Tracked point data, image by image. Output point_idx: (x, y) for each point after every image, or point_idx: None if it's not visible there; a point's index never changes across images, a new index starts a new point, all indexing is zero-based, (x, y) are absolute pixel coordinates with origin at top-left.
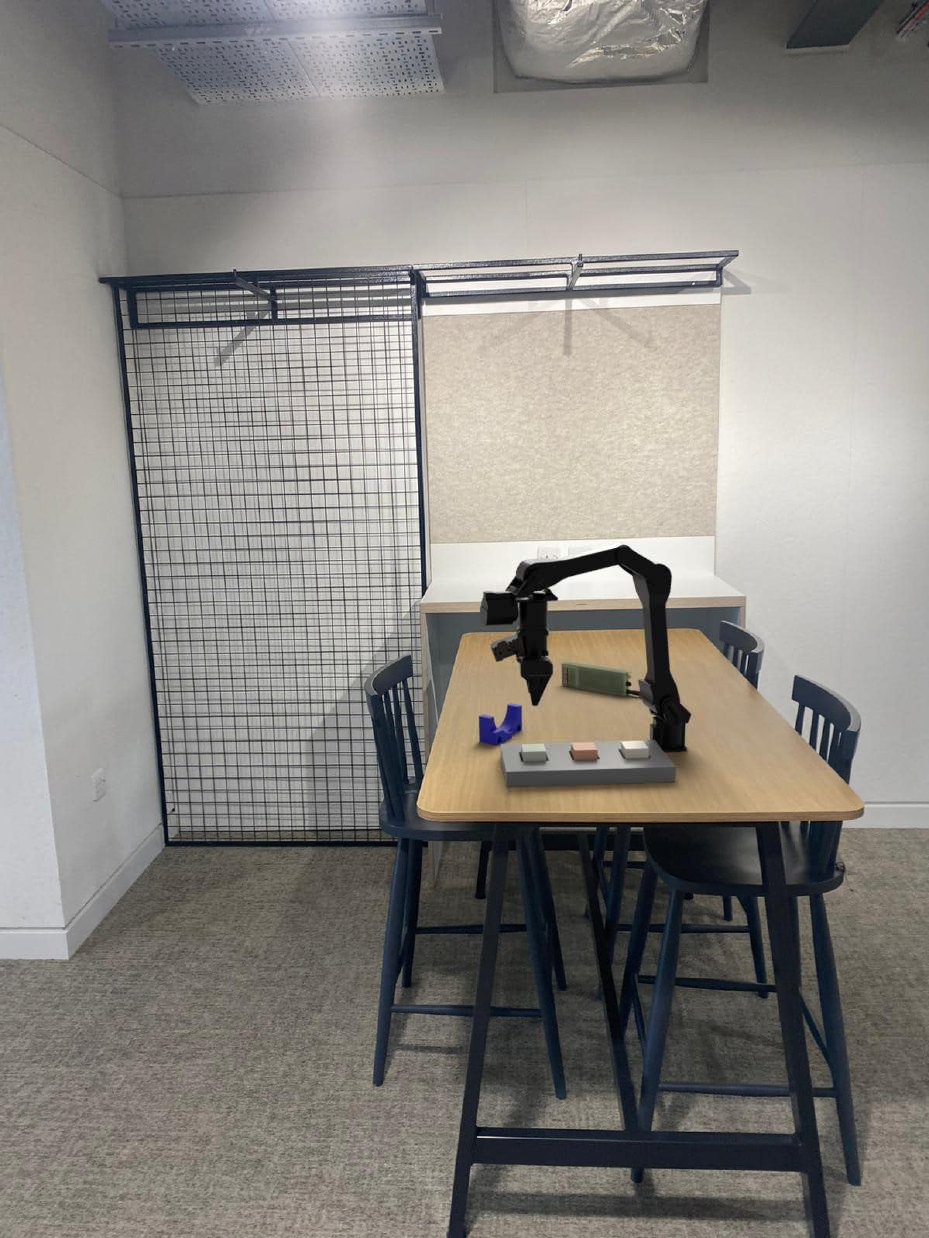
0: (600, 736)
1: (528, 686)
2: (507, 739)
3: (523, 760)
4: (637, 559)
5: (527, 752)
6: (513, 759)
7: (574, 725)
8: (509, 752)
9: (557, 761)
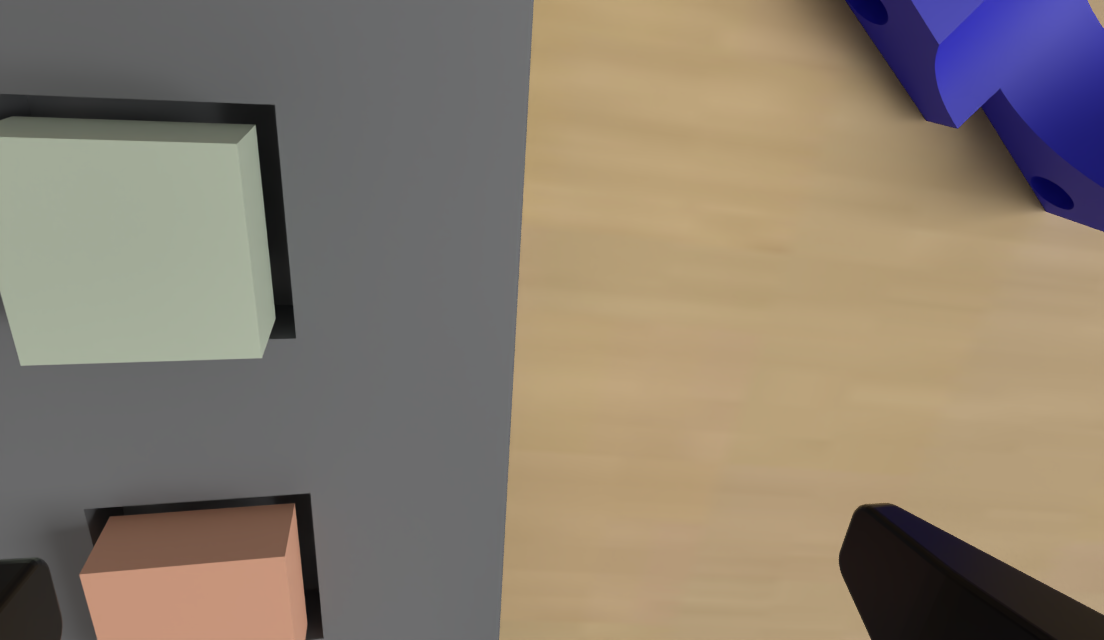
0: (776, 603)
1: (943, 586)
2: (901, 80)
3: (9, 120)
4: None
5: None
6: (30, 17)
7: (983, 502)
8: (267, 8)
9: (32, 406)
